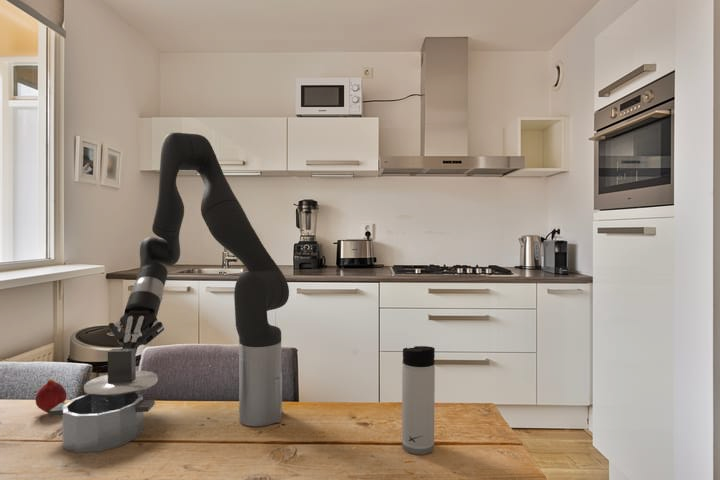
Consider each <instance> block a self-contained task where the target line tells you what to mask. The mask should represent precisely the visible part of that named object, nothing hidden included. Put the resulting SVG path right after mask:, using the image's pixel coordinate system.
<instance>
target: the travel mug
mask: <svg viewBox="0 0 720 480" xmlns="http://www.w3.org/2000/svg"><path fill="white" fill-rule="evenodd" d="M435 350H436V348H435V347H433V346H426V345H421V346H419V345H417V346H416V345H415V346H414V347H404V348H403V349H402V364H401V365H402V371H401V373H402V377H401V378H402V379H401V380H402V381H401V410H402V411H401V447H402V449H403V450H404V451H405V452H407V453H410V454H413V455H420V456H421V455H423V456H424V455H427V454H430V453H431V452H433V451H434V449H435V394H436V393H435V391H436V387H435V385H436V384H435V382H436V381H435V380H436V379H435V377H436V374H435V372H436V369H435V367H436V365H435V364H436V363H435V362H436V361H435V358H436V357H435V355H436V354H435Z"/></svg>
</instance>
